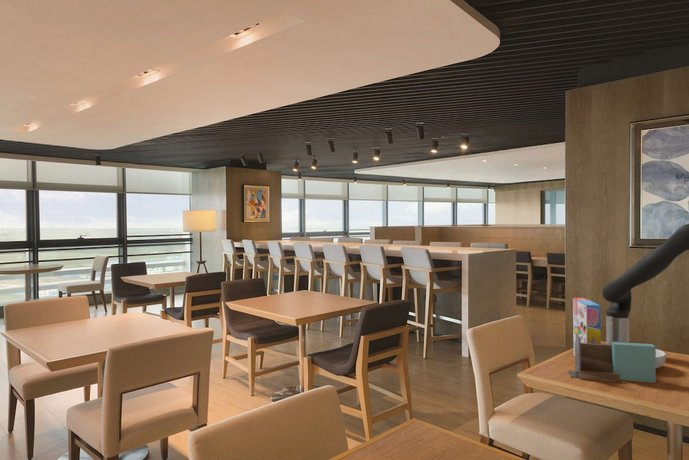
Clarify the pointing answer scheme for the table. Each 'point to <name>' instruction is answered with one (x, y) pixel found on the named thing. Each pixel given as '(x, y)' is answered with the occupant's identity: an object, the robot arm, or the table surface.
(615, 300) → the robot arm
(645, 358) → the book box
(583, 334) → the game box
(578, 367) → the bookend
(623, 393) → the table surface
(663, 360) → the cereal bowl
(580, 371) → the shelf slot
